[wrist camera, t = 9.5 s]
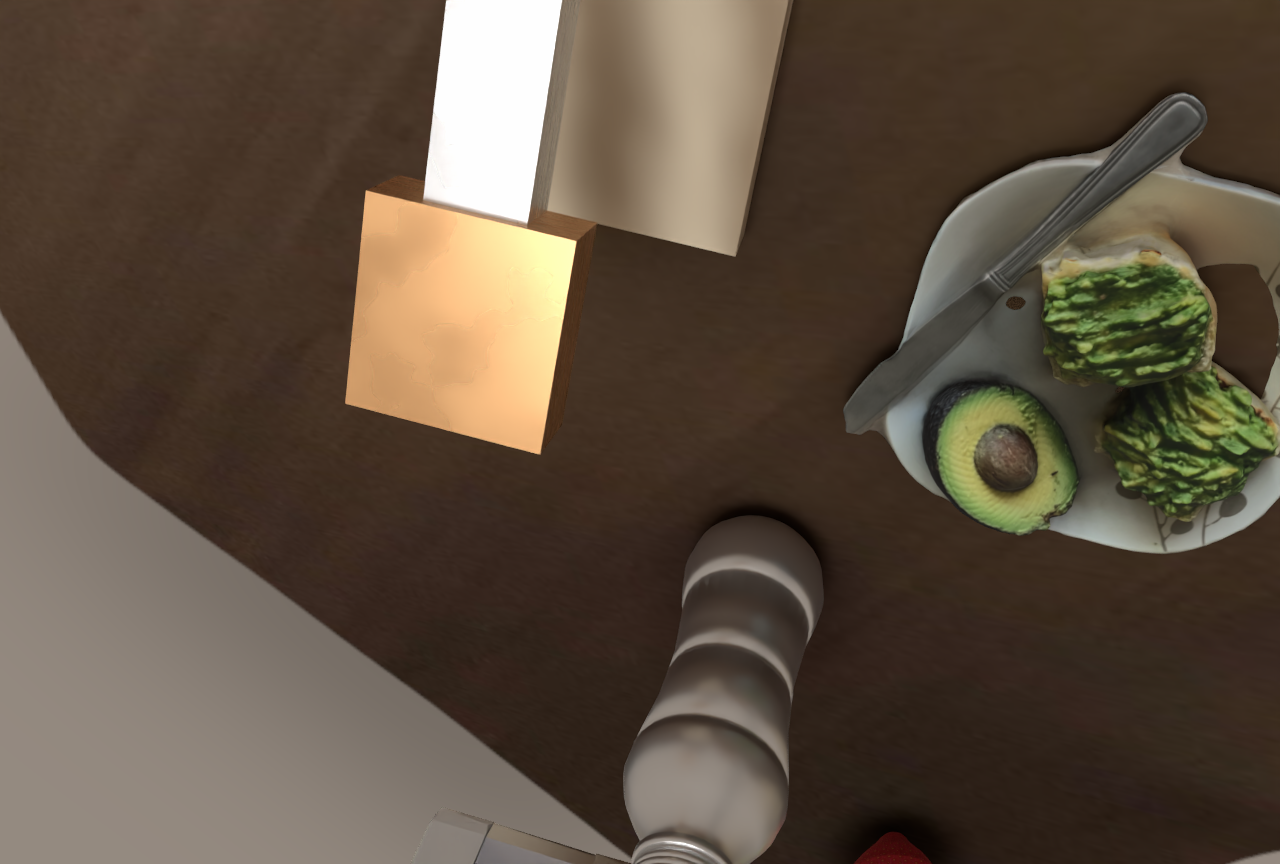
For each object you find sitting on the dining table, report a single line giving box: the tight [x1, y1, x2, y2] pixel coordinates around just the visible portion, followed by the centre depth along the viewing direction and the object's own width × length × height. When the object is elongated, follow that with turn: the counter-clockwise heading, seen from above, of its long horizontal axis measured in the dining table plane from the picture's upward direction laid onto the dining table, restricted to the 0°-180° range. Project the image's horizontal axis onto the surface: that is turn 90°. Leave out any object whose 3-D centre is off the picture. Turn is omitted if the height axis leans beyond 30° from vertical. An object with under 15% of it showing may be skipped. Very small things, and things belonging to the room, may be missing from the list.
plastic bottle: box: [623, 515, 824, 864], centre depth 51 cm, size 6×7×20 cm
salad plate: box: [843, 92, 1280, 554], centre depth 47 cm, size 19×18×5 cm
